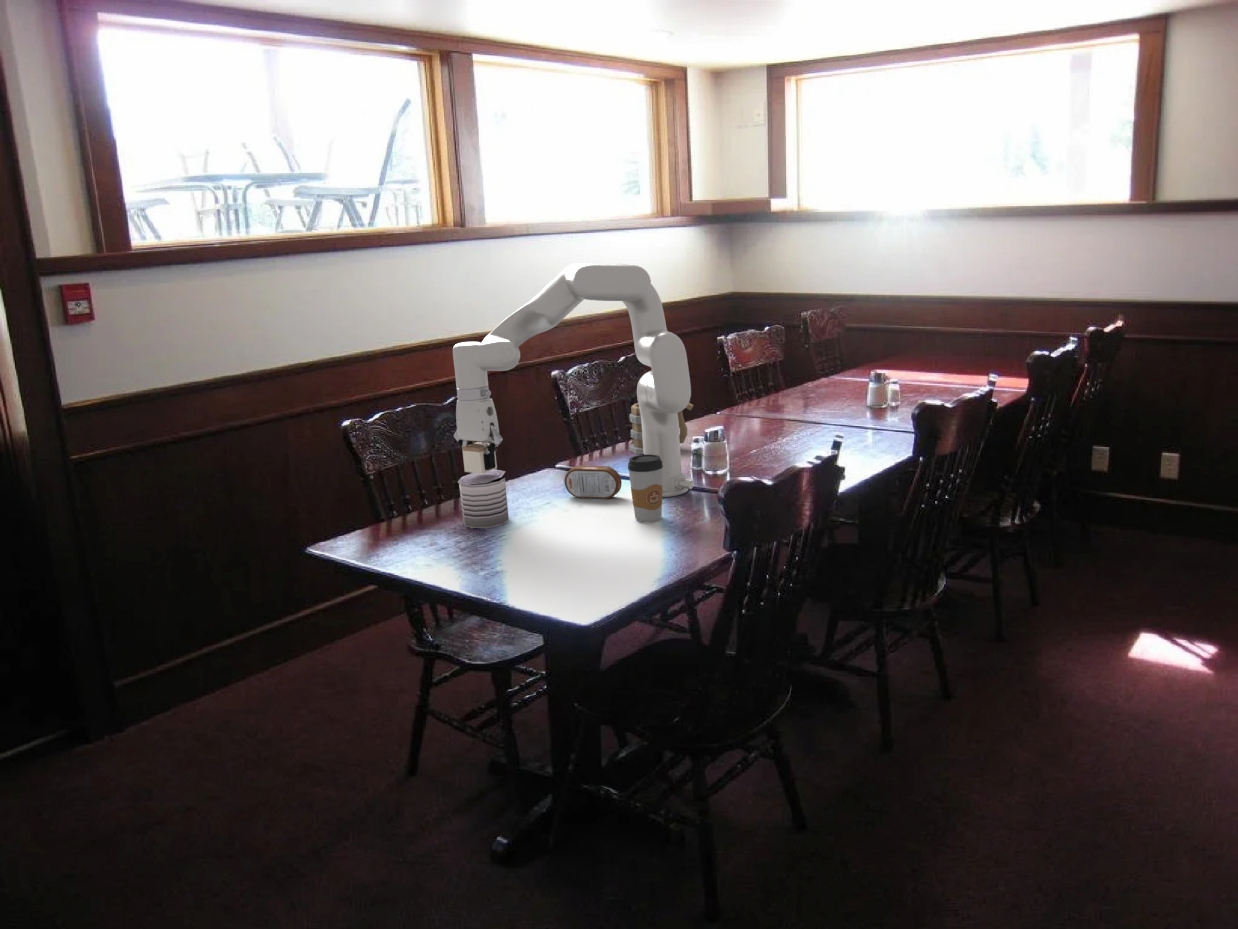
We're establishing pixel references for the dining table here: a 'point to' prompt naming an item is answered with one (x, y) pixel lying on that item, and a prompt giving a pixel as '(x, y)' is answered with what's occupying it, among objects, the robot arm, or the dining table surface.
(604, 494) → the tin
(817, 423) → the dining table surface
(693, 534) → the dining table surface
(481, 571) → the dining table surface
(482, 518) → the can
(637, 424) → the tankard
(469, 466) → the cream block
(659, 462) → the coffee cup
